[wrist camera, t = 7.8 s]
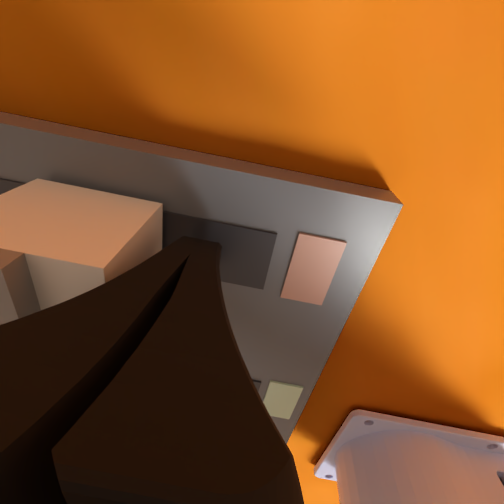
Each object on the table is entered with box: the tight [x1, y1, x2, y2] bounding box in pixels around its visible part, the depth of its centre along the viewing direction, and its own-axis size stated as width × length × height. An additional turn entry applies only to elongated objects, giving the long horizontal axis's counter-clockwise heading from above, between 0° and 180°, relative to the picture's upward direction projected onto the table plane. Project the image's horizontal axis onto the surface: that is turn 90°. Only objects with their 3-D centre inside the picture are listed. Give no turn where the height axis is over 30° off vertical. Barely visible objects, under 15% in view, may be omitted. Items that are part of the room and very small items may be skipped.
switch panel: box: [0, 112, 403, 444], centre depth 14 cm, size 18×16×1 cm
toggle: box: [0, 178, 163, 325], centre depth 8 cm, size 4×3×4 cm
